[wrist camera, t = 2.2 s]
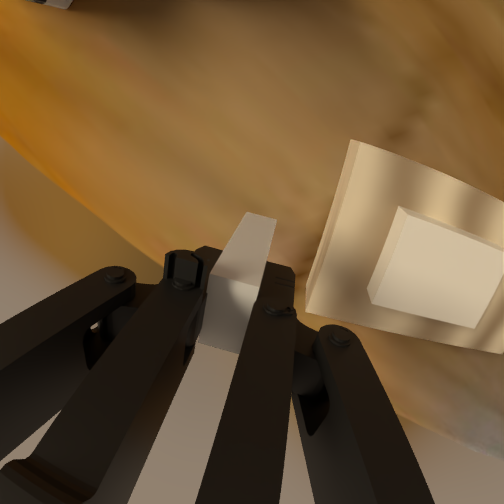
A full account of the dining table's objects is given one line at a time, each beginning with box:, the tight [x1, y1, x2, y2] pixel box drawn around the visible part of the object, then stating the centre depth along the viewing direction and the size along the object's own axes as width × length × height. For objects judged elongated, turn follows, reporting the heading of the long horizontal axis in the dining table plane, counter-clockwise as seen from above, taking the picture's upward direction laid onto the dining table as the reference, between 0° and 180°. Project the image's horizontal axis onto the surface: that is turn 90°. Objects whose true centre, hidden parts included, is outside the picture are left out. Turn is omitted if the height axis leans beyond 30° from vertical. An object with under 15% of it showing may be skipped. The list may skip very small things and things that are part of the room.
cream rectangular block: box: [367, 206, 504, 329], centre depth 18 cm, size 9×6×2 cm, turn 78°
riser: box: [305, 139, 504, 354], centre depth 21 cm, size 20×12×4 cm, turn 78°
